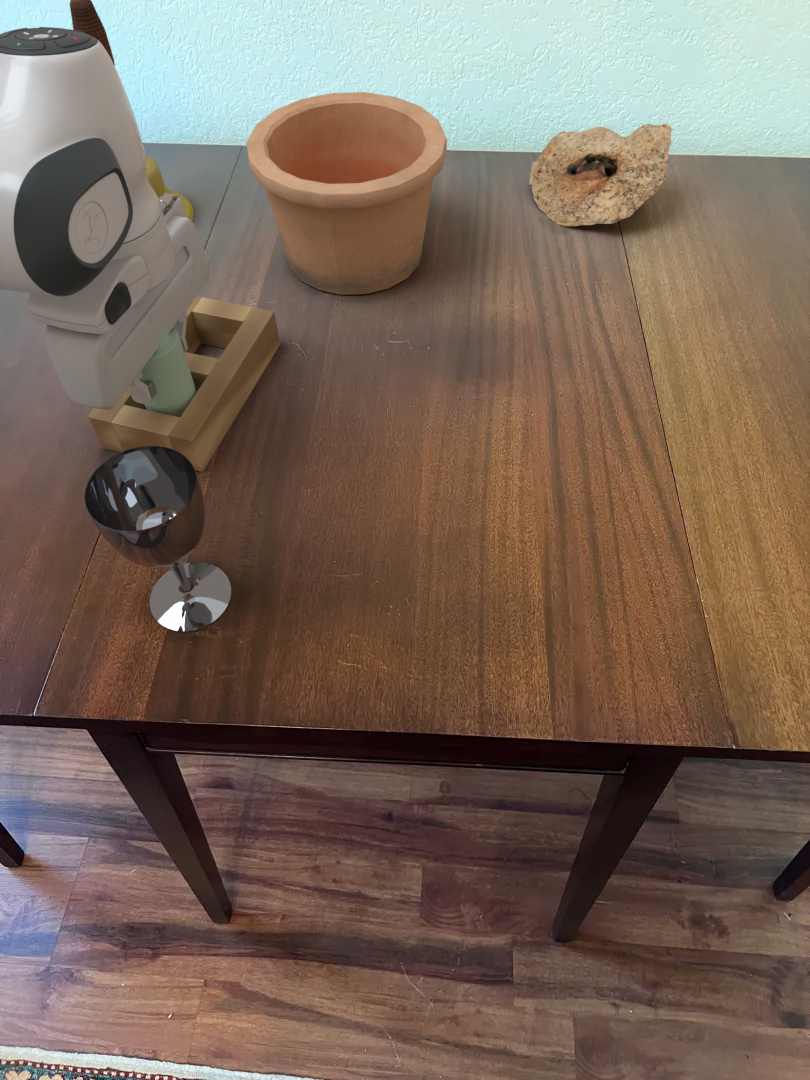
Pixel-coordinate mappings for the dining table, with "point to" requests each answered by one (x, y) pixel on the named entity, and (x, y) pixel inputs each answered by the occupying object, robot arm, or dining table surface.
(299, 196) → the pottery
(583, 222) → the rough tan rock
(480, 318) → the dining table surface
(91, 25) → the handbell
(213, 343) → the hollow wooden block
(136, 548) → the wine glass
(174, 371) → the bottle
